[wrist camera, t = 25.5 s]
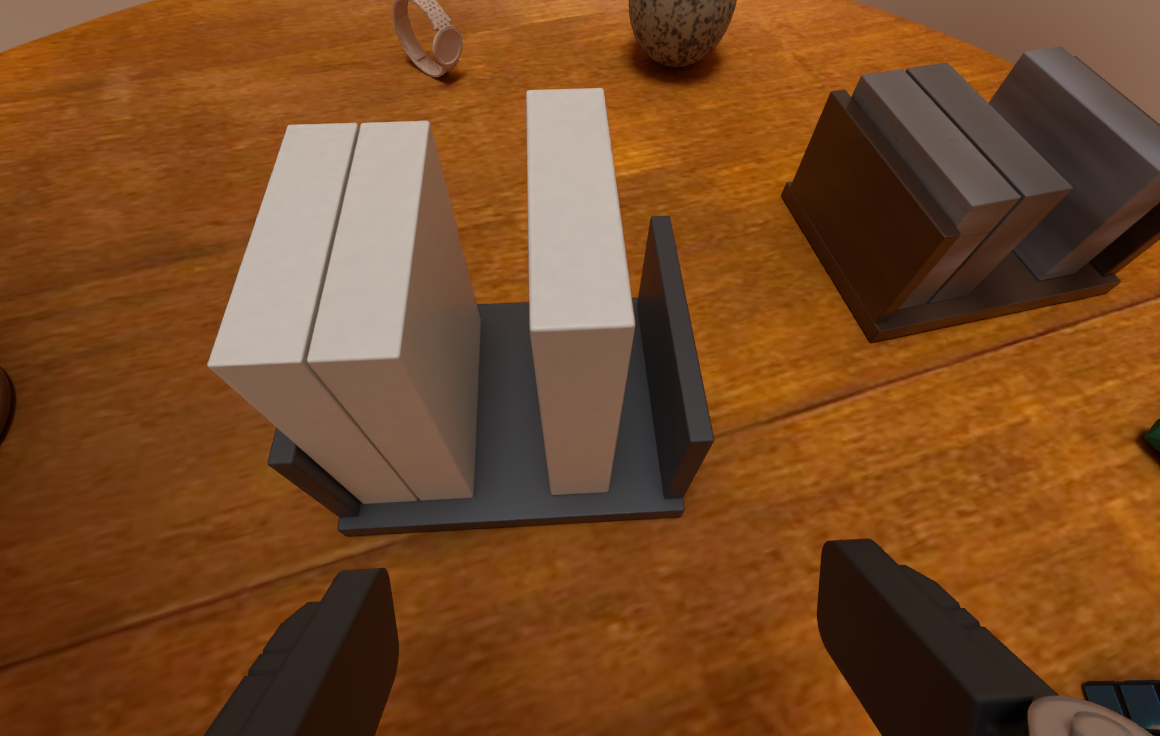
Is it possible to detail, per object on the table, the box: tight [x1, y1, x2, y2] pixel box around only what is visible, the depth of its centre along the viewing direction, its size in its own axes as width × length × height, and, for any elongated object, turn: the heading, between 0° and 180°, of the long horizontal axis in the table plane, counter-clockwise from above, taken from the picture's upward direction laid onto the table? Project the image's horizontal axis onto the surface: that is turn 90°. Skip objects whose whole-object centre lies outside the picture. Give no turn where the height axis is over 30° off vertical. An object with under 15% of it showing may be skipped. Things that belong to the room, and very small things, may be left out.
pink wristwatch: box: [392, 0, 463, 77], centre depth 37 cm, size 3×5×5 cm, turn 52°
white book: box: [526, 88, 635, 495], centre depth 20 cm, size 2×9×12 cm, turn 4°
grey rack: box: [781, 47, 1160, 342], centre depth 28 cm, size 14×11×8 cm
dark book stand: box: [208, 121, 714, 536], centre depth 20 cm, size 14×11×12 cm
